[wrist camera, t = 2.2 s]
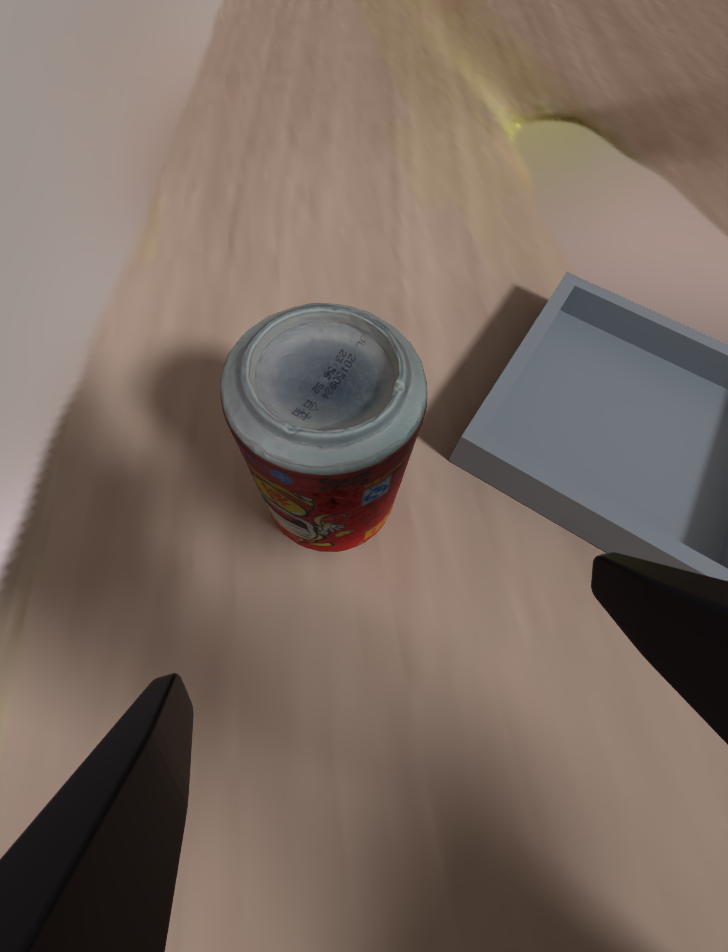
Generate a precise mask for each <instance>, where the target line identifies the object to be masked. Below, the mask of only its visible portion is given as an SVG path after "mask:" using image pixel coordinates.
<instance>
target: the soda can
mask: <svg viewBox="0 0 728 952" xmlns="http://www.w3.org/2000/svg"><path fill="white" fill-rule="evenodd" d="M220 390H221V402H222V408H223V413H224V416H225V419H226V422H227V424H228V426H229V428H230V430H231V432H232V434H233V436H234V438H235V440H236V442H237V444H238V446H239V448H240V450H241V453H242V455H243V457H244V459H245V461H246V463H247V465H248V467H249V470H250V472H251V474H252V476H253V478H254V480H255V482H256V484H257V486H258V488H259V490H260V493H261V495H262V497H263V499H264V501H265V503H266V505H267V507H268V509H269V511H270V514H271V516H272V518H273V520H274V521H275V523H276V525H277V526H278V527H279V528H280V529H281V531H282V532H283V533H284V534H285V535H286V536H287V537H289V538H290V539H292V540H293V541H294V542H296V543H297V544H299V545H301V546H304V547H306V548H309V549H313V550H317V551H326V552H338V551H343V550H348V549H351V548H353V547H356V546H358V545H360V544H362V543H364V542H366V541H367V540H368V539H370V538H371V537H372V536H374V535H375V534H376V533H377V532H378V531H379V530H380V529H381V527H382V526H383V524H384V523H385V521H386V519H387V518H388V516H389V514H390V511H391V509H392V506H393V503H394V500H395V497H396V494H397V491H398V489H399V486H400V484H401V481H402V478H403V475H404V472H405V469H406V466H407V463H408V460H409V458H410V455H411V452H412V450H413V447H414V444H415V441H416V438H417V436H418V433H419V430H420V428H421V425H422V423H423V419H424V415H425V412H426V406H427V382H426V377H425V373H424V370H423V366H422V361H421V359H420V358H419V356H418V354H417V353H416V351H415V349H414V348H413V346H412V344H411V343H410V342H409V341H408V340H407V339H406V338H405V337H404V336H403V335H402V334H401V333H400V332H399V331H398V330H397V329H396V328H395V327H393V326H392V325H391V324H389V323H387V322H385V321H384V320H382V319H380V318H378V317H377V316H375V315H373V314H372V313H370V312H367V311H364V310H360V309H357V308H354V307H350V306H345V305H339V304H330V303H311V304H306V305H302V306H298V307H293V308H290V309H287V310H284V311H281V312H278V313H276V314H273V315H271V316H268V317H267V318H265V319H263V320H262V321H260V322H259V323H258V324H256V325H255V326H253V327H252V328H251V329H249V330H248V331H247V332H246V333H245V334H244V335H243V336H242V337H241V338H240V339H239V341H238V342H237V343H236V345H235V346H234V347H233V349H232V350H231V351H230V352H229V354H228V357H227V359H226V362H225V365H224V368H223V372H222V376H221V380H220Z"/></svg>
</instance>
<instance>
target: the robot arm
mask: <svg viewBox="0 0 728 952" xmlns="http://www.w3.org/2000/svg"><path fill="white" fill-rule="evenodd" d="M591 588H592V592H593V594H594V596H595V597H596V599H597V600H598V601H599V603H600V604H601V605H602V606H603V607H604V609H605V610H606V611H607V612H608V614H609V615H610V616H611V617H612V619H613V620H614V621H615V622H616V624H617V625H618V626H619V627H620V628H621V630H622V631H623V632H624V633H625V635H626V636H627V637H628V638H629V640H630V641H631V642H632V643H633V645H634V646H635V647H636V648H637V649H638V651H639V652H640V653H641V654H642V655H643V656H644V657H645V659H646V660H647V661H648V662H649V663H650V664H651V665H652V666H653V667H654V668H655V669H656V670H657V671H658V672H659V673H660V675H661V676H662V677H663V678H664V679H665V680H666V681H667V682H668V683H669V684H670V685H671V686H672V687H673V688H674V689H675V690H676V691H677V692H678V693H679V694H680V695H681V696H682V697H683V698H684V700H685V701H686V702H687V703H688V704H689V705H690V706H691V707H692V708H693V709H694V710H695V711H696V712H697V713H698V714H699V715H700V716H701V717H702V718H703V719H704V720H705V721H706V722H707V723H708V725H709V726H710V727H711V728H712V729H713V730H714V731H715V732H716V733H717V734H718V735H719V736H720V737H721V738H722V739H723V740H724V741H725V742H726V743H727V744H728V581H725V580H721V579H717V578H713V577H710V576H706V575H702V574H698V573H694V572H690V571H686V570H682V569H679V568H675V567H671V566H667V565H663V564H659V563H655V562H651V561H647V560H644V559H640V558H636V557H632V556H628V555H624V554H620V553H616V552H609V553H605V554H602V555H598V556H596V557H595V558H594V560H593V567H592V580H591ZM192 730H193V706H192V703H191V700H190V698H189V695H188V693H187V691H186V688H185V686H184V684H183V681H182V679H181V677H180V676H179V675H178V674H176V673H173V674H170V675H166V676H162V677H159V678H156V679H154V680H153V681H152V682H151V683H150V684H149V685H148V687H147V688H146V689H145V690H144V691H143V692H142V694H141V695H140V696H139V697H138V698H137V699H136V701H135V702H134V703H133V704H132V705H131V707H130V708H129V709H128V710H127V711H126V712H125V714H124V715H123V716H122V717H121V718H120V719H119V721H118V722H117V723H116V724H115V725H114V726H113V728H112V729H111V730H110V731H109V732H108V733H107V735H106V736H105V737H104V738H103V739H102V740H101V742H100V743H99V744H98V745H97V746H96V748H95V749H94V750H93V751H92V752H91V753H90V755H89V756H88V757H87V758H86V759H85V760H84V762H83V763H82V764H81V765H80V766H79V767H78V769H77V770H76V771H75V772H74V773H73V774H72V776H71V777H70V778H69V779H68V780H67V782H66V783H65V784H64V785H63V786H62V787H61V789H60V790H59V791H58V792H57V793H56V794H55V796H54V797H53V798H52V799H51V800H50V801H49V803H48V804H47V805H46V806H45V807H44V808H43V810H42V811H41V812H40V813H39V814H38V815H37V817H36V818H35V819H34V820H33V821H32V823H31V824H30V825H29V826H28V827H27V828H26V830H25V831H24V832H23V833H22V834H21V835H20V837H19V838H18V839H17V840H16V841H15V842H14V844H13V845H12V846H11V847H10V848H9V849H8V851H7V852H6V853H5V854H4V855H3V856H2V858H1V859H0V952H165V946H166V940H167V934H168V927H169V921H170V915H171V909H172V902H173V896H174V890H175V884H176V878H177V871H178V865H179V859H180V853H181V846H182V840H183V834H184V828H185V821H186V814H187V807H188V795H189V780H190V764H191V747H192Z"/></svg>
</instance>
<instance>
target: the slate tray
mask: <svg viewBox="0 0 728 952" xmlns="http://www.w3.org/2000/svg"><path fill="white" fill-rule="evenodd" d="M448 461H450V462H452V463H454V464H455V465H457V466H459V467H460V468H462V469H464V470H466V471H467V472H469V473H471V474H472V475H474V476H476V477H478V478H479V479H481V480H483V481H484V482H486V483H488V484H490V485H491V486H493V487H495V488H496V489H498V490H500V491H502V492H503V493H505V494H507V495H508V496H510V497H512V498H514V499H515V500H517V501H519V502H520V503H522V504H524V505H526V506H527V507H529V508H531V509H532V510H534V511H536V512H538V513H539V514H541V515H543V516H544V517H546V518H548V519H550V520H551V521H553V522H555V523H556V524H558V525H560V526H562V527H563V528H565V529H567V530H568V531H570V532H572V533H574V534H575V535H577V536H579V537H580V538H582V539H584V540H586V541H587V542H589V543H591V544H592V545H594V546H596V547H598V548H599V549H601V550H603V551H604V552H606V553H609V552H616V553H620V554H624V555H628V556H632V557H636V558H640V559H644V560H647V561H651V562H655V563H659V564H663V565H667V566H671V567H675V568H679V569H682V570H686V571H690V572H694V573H698V574H702V575H706V576H710V577H713V578H717V579H721V580H725V581H728V345H727V344H725V343H723V342H720V341H718V340H716V339H714V338H712V337H709V336H707V335H705V334H703V333H701V332H698V331H696V330H694V329H692V328H690V327H687V326H685V325H683V324H681V323H679V322H676V321H674V320H672V319H670V318H667V317H665V316H663V315H661V314H658V313H656V312H654V311H652V310H650V309H648V308H645V307H643V306H641V305H639V304H637V303H634V302H632V301H630V300H628V299H626V298H623V297H621V296H619V295H617V294H615V293H612V292H610V291H608V290H606V289H604V288H601V287H599V286H597V285H594V284H592V283H590V282H588V281H586V280H583V279H581V278H579V277H577V276H575V275H573V274H570V273H568V272H566V274H565V276H564V277H563V279H562V280H561V282H560V283H559V285H558V286H557V288H556V290H555V291H554V293H553V294H552V296H551V297H550V299H549V301H548V302H547V304H546V305H545V307H544V308H543V310H542V311H541V313H540V315H539V316H538V318H537V319H536V321H535V322H534V324H533V325H532V327H531V329H530V330H529V332H528V333H527V335H526V336H525V338H524V340H523V341H522V343H521V344H520V346H519V347H518V349H517V350H516V352H515V354H514V355H513V357H512V358H511V360H510V361H509V363H508V364H507V366H506V368H505V369H504V371H503V372H502V374H501V375H500V377H499V379H498V380H497V382H496V383H495V385H494V386H493V388H492V389H491V391H490V393H489V394H488V396H487V397H486V399H485V400H484V402H483V403H482V405H481V407H480V408H479V410H478V411H477V413H476V414H475V416H474V418H473V419H472V421H471V422H470V424H469V425H468V427H467V428H466V430H465V432H464V433H463V435H462V436H461V438H460V440H459V442H458V443H457V445H456V447H455V449H454V451H453V453H452V454H451V456H450V458H449V460H448Z"/></svg>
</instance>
